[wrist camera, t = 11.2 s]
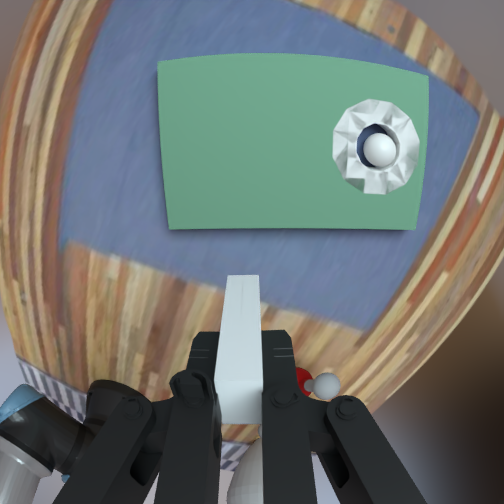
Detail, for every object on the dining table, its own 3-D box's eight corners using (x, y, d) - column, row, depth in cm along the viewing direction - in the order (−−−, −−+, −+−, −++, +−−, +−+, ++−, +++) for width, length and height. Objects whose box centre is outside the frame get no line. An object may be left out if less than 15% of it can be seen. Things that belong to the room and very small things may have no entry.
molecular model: (313, 330, 40) (324, 385, 31) (341, 343, 41) (356, 394, 32) (252, 394, 47) (250, 441, 38) (278, 402, 48) (280, 448, 39)
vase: (313, 449, 58) (321, 536, 36) (245, 458, 61) (241, 541, 39) (301, 419, 51) (310, 530, 28) (219, 430, 54) (208, 533, 31)
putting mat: (174, 221, 33) (169, 229, 31) (165, 65, 25) (157, 62, 23) (406, 222, 32) (415, 230, 30) (417, 77, 24) (428, 76, 22)
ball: (389, 170, 29) (371, 145, 30) (408, 150, 26) (387, 125, 26) (371, 176, 27) (351, 150, 28) (390, 155, 24) (367, 127, 25)
